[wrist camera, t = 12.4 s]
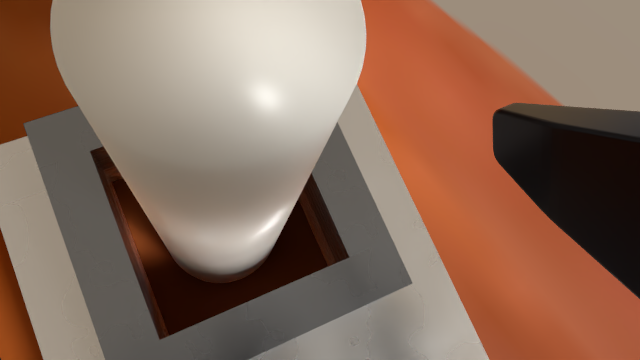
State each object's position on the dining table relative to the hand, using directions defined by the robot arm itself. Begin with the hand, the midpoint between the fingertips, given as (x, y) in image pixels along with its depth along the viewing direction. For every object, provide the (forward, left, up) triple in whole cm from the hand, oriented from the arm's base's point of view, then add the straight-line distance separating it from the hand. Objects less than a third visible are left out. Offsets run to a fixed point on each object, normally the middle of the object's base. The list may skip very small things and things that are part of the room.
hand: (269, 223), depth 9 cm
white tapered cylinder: (+2, +1, -11) cm, 12 cm away
